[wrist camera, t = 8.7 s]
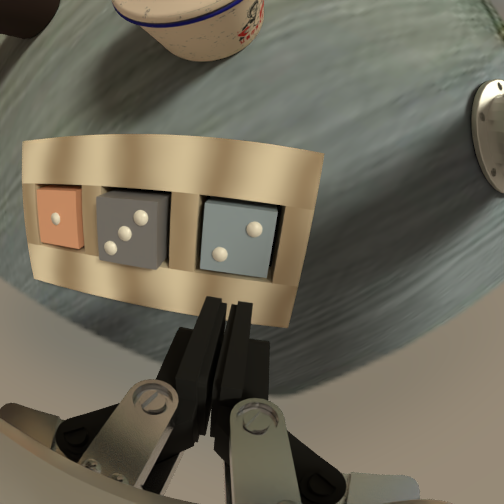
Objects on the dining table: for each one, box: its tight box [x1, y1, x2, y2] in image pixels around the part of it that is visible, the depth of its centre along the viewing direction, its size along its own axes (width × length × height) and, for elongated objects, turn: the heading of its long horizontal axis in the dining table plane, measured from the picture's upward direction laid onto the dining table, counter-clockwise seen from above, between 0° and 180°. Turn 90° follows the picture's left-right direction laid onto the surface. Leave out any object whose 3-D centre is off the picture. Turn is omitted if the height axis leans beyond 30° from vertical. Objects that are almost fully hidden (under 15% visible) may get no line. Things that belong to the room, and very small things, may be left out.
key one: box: [37, 184, 84, 249], centre depth 21 cm, size 5×5×3 cm
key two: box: [200, 196, 278, 278], centre depth 21 cm, size 5×5×3 cm
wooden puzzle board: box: [22, 134, 324, 328], centre depth 21 cm, size 26×14×3 cm, turn 82°
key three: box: [96, 189, 171, 270], centre depth 20 cm, size 5×5×3 cm
